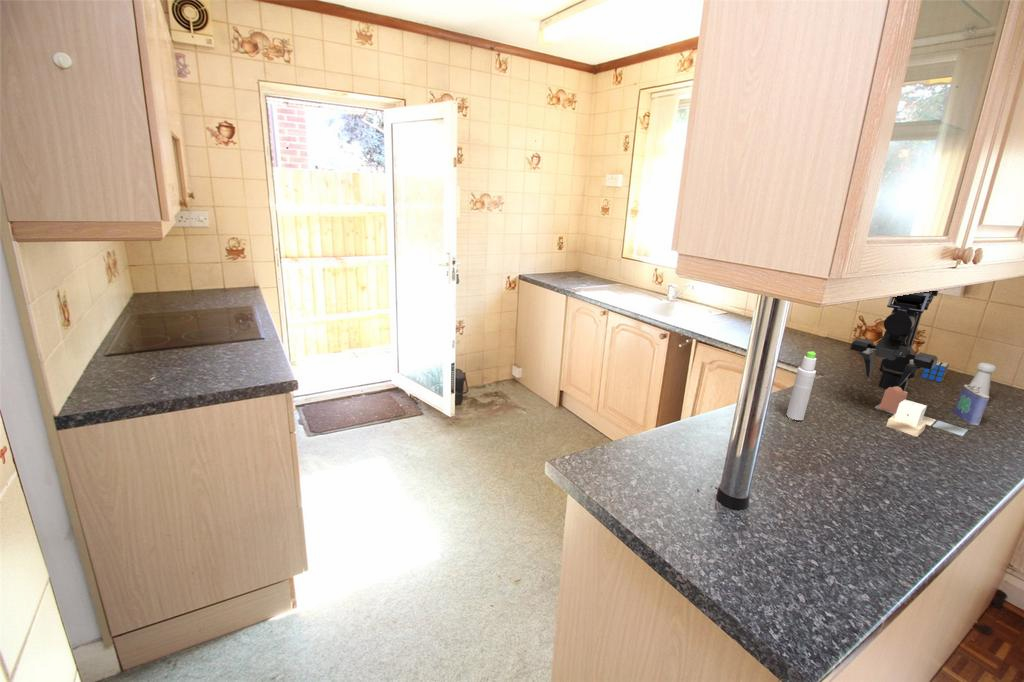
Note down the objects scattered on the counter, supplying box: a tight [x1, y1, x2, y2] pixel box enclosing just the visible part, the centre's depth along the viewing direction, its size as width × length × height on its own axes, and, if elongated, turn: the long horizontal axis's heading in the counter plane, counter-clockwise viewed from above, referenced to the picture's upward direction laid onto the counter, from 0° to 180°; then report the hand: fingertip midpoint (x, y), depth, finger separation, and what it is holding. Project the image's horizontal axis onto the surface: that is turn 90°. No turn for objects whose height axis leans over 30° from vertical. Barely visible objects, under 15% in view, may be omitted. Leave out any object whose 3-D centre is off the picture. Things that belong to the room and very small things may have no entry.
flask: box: [952, 383, 991, 426], centre depth 141 cm, size 10×3×12 cm, turn 164°
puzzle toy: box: [920, 361, 950, 383], centre depth 176 cm, size 6×6×6 cm
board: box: [873, 402, 968, 437], centre depth 141 cm, size 21×9×1 cm, turn 38°
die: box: [894, 398, 928, 427], centre depth 132 cm, size 5×5×5 cm
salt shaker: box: [968, 362, 997, 397], centre depth 156 cm, size 6×6×13 cm
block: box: [886, 414, 927, 437], centre depth 133 cm, size 7×7×3 cm
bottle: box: [785, 351, 817, 421], centre depth 134 cm, size 4×4×20 cm
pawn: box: [880, 386, 909, 413], centre depth 144 cm, size 4×4×7 cm
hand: (883, 381), depth 136 cm, fingers open, 7 cm apart
